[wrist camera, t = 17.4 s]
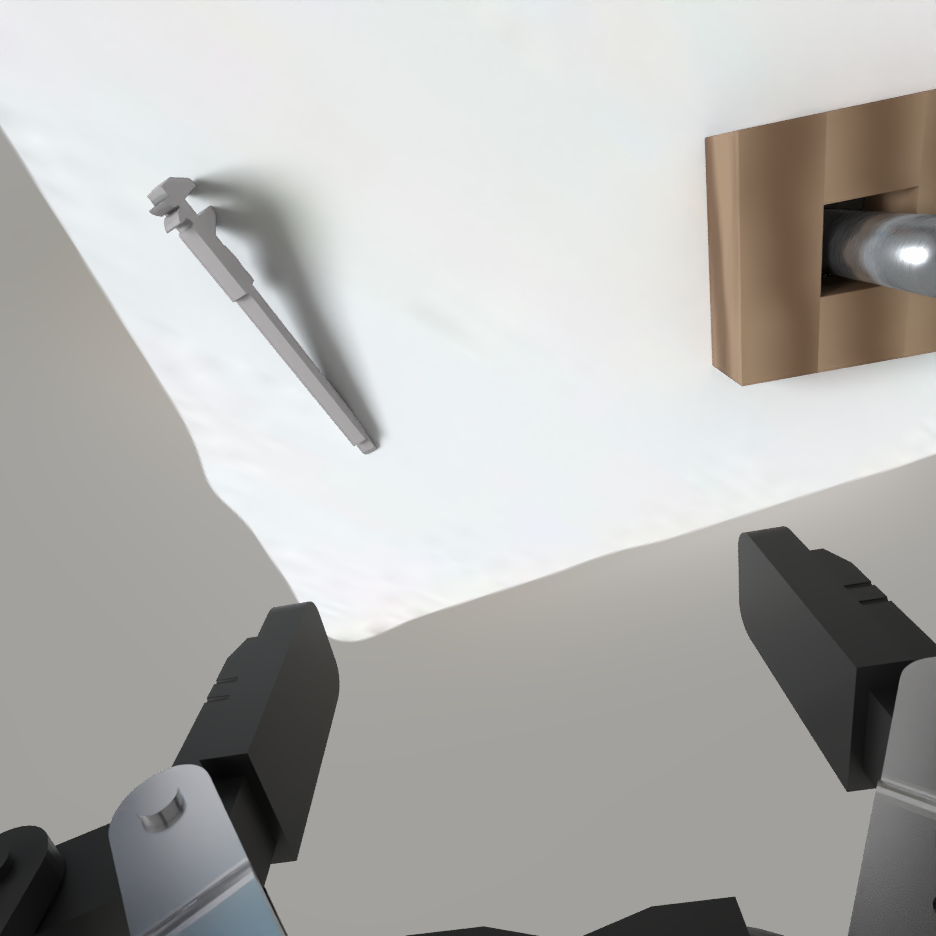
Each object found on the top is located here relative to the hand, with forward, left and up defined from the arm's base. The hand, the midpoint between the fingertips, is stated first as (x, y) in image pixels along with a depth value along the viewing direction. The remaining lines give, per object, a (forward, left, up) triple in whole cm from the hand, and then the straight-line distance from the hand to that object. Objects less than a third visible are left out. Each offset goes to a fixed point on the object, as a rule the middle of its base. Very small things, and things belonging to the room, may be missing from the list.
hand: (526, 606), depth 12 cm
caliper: (-9, -10, -33) cm, 35 cm away
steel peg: (+12, +18, -32) cm, 39 cm away
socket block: (+12, +18, -32) cm, 39 cm away
